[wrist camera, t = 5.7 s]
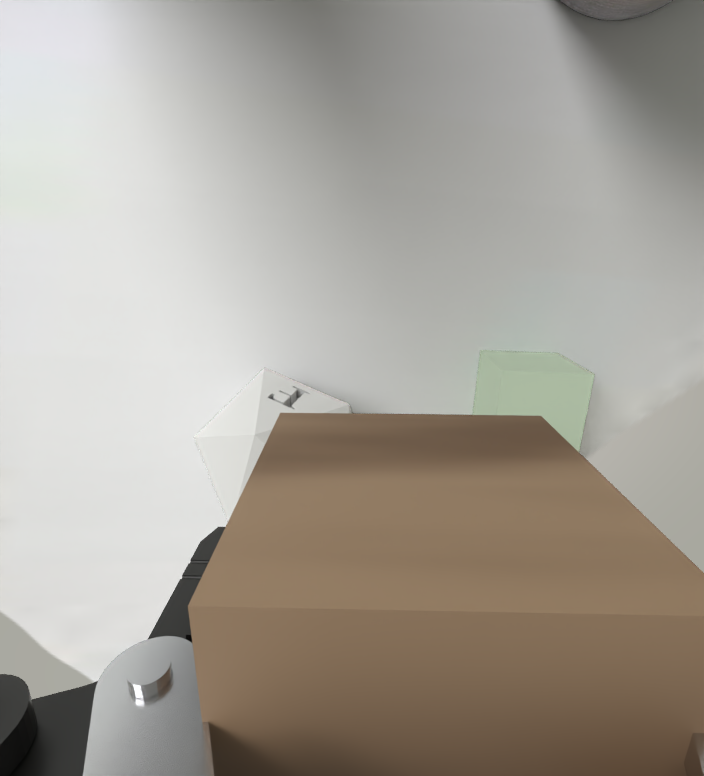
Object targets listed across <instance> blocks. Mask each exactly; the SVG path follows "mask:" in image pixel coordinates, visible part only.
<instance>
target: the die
mask: <svg viewBox="0 0 704 776" xmlns="http://www.w3.org/2000/svg"><path fill="white" fill-rule="evenodd" d="M280 413H352V410H351V407H350V404H348V403H346V402H343V401H341V400H339V399H336V398H334V397H332V396H329V395H327V394H325V393H323V392H320V391H318V390H316V389H313V388H311V387H309V386H306V385H304V384H302V383H299V382H297V381H295V380H293V379H290V378H288V377H286V376H283V375H281V374H279V373H276V372H274V371H272V370H269V369H267V368H265V367H264V368H263V369H262V370H261V371H260V372H259V373H258V374H257V375H256V376H255V377H254V378H253V379H252V380H251V381H250V382H249V383H248V384H247V385H246V386H245V387H244V388H243V389H242V390H241V391H240V392H239V393H238V394H237V395H236V396H235V397H234V398H233V399H232V400H231V401H230V402H229V403H228V404H227V405H226V406H225V407H224V408H223V409H222V410H221V411H220V412H219V413H218V414H217V415H216V416H215V417H214V418H213V419H212V420H211V421H210V422H209V423H208V424H206V425H205V426H204V427H203V428H202V429H201V430H200V431H199V432H198V433H197V434H196V435H195V436H194V437H193V438H194V440H195V443H196V445H197V448H198V450H199V452H200V455H201V457H202V460H203V462H204V465H205V467H206V470H207V472H208V475H209V477H210V480H211V482H212V485H213V487H214V490H215V492H216V495H217V497H218V500H219V502H220V505H221V507H222V510H223V512H224V515H225V517H226V520H227V522H228V521H229V519H230V517H231V515H232V513H233V511H234V508H235V506H236V504H237V502H238V500H239V498H240V496H241V494H242V492H243V490H244V488H245V485H246V483H247V481H248V479H249V477H250V475H251V473H252V471H253V469H254V467H255V465H256V462H257V460H258V458H259V456H260V454H261V452H262V450H263V448H264V446H265V444H266V441H267V439H268V437H269V435H270V433H271V431H272V429H273V427H274V425H275V423H276V421H277V418H278V416H279V414H280Z"/></svg>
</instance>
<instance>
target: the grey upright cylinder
mask: <svg viewBox="0 0 704 776" xmlns="http://www.w3.org/2000/svg"><path fill="white" fill-rule="evenodd" d="M560 1H561V2H563V3H564V4H565V5H567V6H568V7H570V8H571V9H573V10H575V11H576V12H579V13H581V14H584V15H587V16H589V17H594V18H597V19H603V20H623V19H630V18H635V17H639V16H642V15H645V14H648V13H650V12H652V11H654V10H656V9H659V8H661V7H663V6H665V5H666V4H668V3H669V2H671V1H673V0H560Z"/></svg>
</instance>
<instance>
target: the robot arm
mask: <svg viewBox="0 0 704 776" xmlns="http://www.w3.org/2000/svg"><path fill="white" fill-rule="evenodd" d="M224 529H225V527H218V528H217V529H215V530H214V531H213V532H212V533H211V534H209V535H208V536H207V537H206V538H205V539H203V540H202V541H201V542H200V544H199V545H198V547H197V549H196V551H195V553H194V555H193V557H192V558H191V563H190V564H188V566H187V568H186V570H185V571H184V573H183V575H182V579H180V581H179V583H178V584H177V586H176V588H175V590H174V592H173V594H172V596H171V597H170V599H169V601H168V603H167V605H166V607H165V608H164V610H163V612H162V614H161V616H160V618H159V620H158V621H157V623H156V625H155V627H154V629H153V631H152V633H151V634H150V636H149V638H148V640H145V641H142V642H140V643H138V644H136V645H134V646H132V647H130V648H128V649H127V650H125V651H124V652H123V653H121V654H120V655H118V656H117V657H116V658H115V659H114V660H113V661H112V662H111V663H110V664H109V665H108V666H107V668H106V669H105V670H104V672H103V673H102V675H101V676H100V678H99V680H98V681H97V682H94V683H92V684H89V685H86V686H82V687H79V688H75V689H71V690H67V691H63V692H59V693H56V694H52V695H48V696H44V697H40V698H36V699H32V700H31V696H30V693H29V689H28V686H27V684H26V683H25V682H24V681H23V680H22V679H20V678H19V677H16V676H13V675H6V674H0V776H215V774H214V765H213V755H212V747H211V738H210V730H209V722H202V717H201V709H200V701H199V692H198V684H197V676H196V668H195V660H194V652H193V644H192V636H191V628H190V620H189V612H188V605H189V603H190V601H191V598H192V596H193V594H194V592H195V590H196V588H197V586H198V584H199V582H200V580H201V578H202V575H203V573H204V571H205V569H206V567H207V565H208V563H209V561H210V559H211V557H212V555H213V552H214V550H215V548H216V546H217V544H218V542H219V540H220V538H221V536H222V534H223V531H224ZM684 766H685V771H686V775H687V776H704V733H693V734H692V737H691V741H690V744H689V747H688V751H687V754H686V757H685V760H684Z"/></svg>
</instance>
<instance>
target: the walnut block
mask: <svg viewBox="0 0 704 776" xmlns="http://www.w3.org/2000/svg"><path fill="white" fill-rule="evenodd" d="M188 612H189V620H190V628H191V636H192V644H193V652H194V660H195V668H196V676H197V684H198V692H199V701H200V709H201V717H202V722H209V730H210V738H211V747H212V755H213V765H214V774H215V776H687V775H686V771H685V766H684V760H685V757H686V754H687V751H688V747H689V744H690V741H691V737H692V734H693V733H704V573H703V572H702V571H701V570H700V569H699V568H698V567H697V566H696V565H695V564H694V563H693V562H692V561H691V560H690V559H689V558H688V557H687V556H686V555H684V554H683V553H682V552H681V551H680V550H679V549H678V548H677V547H676V546H675V545H674V544H673V543H672V542H671V541H670V540H669V539H668V538H667V537H666V536H665V535H664V534H663V533H662V532H661V531H660V530H659V529H658V528H657V527H656V526H655V525H653V524H652V523H651V522H650V521H649V520H648V519H647V518H646V517H645V516H644V515H643V514H642V513H641V512H640V511H639V510H638V509H637V508H636V507H635V506H634V505H633V504H632V503H631V502H630V501H629V500H628V499H627V498H626V497H625V496H623V495H622V494H621V493H620V492H619V491H618V490H617V489H616V488H615V487H614V486H613V485H612V484H611V483H610V482H609V481H608V480H607V479H606V478H605V477H604V476H603V475H602V474H601V473H600V472H598V470H597V469H596V468H595V467H593V466H592V465H591V464H590V463H589V462H588V461H587V460H586V459H585V458H584V457H583V456H582V455H581V454H580V453H579V452H578V451H577V450H576V449H575V448H574V447H573V446H572V445H571V444H570V443H569V442H568V441H567V440H566V439H565V438H564V437H562V436H561V435H560V434H559V433H558V432H557V431H556V430H555V429H554V428H553V427H552V426H551V425H550V424H549V423H548V422H547V421H546V420H545V419H544V418H543V417H542V416H522V415H438V414H354V413H280V414H279V416H278V418H277V421H276V423H275V425H274V427H273V429H272V431H271V433H270V435H269V437H268V439H267V441H266V444H265V446H264V448H263V450H262V452H261V454H260V456H259V458H258V460H257V462H256V465H255V467H254V469H253V471H252V473H251V475H250V477H249V479H248V481H247V483H246V485H245V488H244V490H243V492H242V494H241V496H240V498H239V500H238V502H237V504H236V506H235V508H234V511H233V513H232V515H231V517H230V519H229V521H228V523H227V525H226V527H225V529H224V531H223V534H222V536H221V538H220V540H219V542H218V544H217V546H216V548H215V550H214V552H213V555H212V557H211V559H210V561H209V563H208V565H207V567H206V569H205V571H204V573H203V575H202V578H201V580H200V582H199V584H198V586H197V588H196V590H195V592H194V594H193V596H192V598H191V601H190V603H189V605H188Z"/></svg>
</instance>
